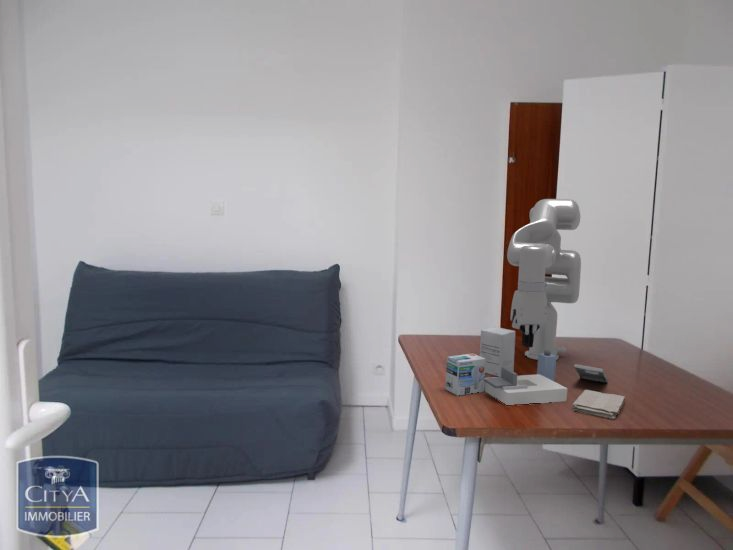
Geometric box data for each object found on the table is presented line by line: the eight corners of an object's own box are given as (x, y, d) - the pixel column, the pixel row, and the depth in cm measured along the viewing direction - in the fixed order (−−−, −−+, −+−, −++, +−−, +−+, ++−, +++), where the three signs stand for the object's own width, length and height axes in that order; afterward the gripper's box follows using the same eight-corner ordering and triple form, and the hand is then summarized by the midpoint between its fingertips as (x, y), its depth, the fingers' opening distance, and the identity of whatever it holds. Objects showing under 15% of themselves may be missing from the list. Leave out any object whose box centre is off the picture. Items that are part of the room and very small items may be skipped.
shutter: (504, 379, 163) (504, 367, 162) (516, 386, 156) (517, 373, 156) (483, 380, 161) (484, 368, 160) (495, 388, 154) (496, 375, 154)
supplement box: (491, 366, 192) (494, 326, 190) (514, 372, 185) (516, 330, 184) (477, 371, 185) (480, 329, 184) (500, 377, 179) (502, 334, 177)
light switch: (608, 377, 177) (603, 366, 165) (605, 394, 175) (600, 384, 163) (581, 372, 181) (575, 361, 170) (578, 389, 179) (571, 378, 168)
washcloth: (570, 413, 149) (571, 402, 149) (583, 395, 164) (583, 385, 164) (616, 422, 143) (617, 412, 143) (625, 403, 158) (626, 393, 158)
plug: (546, 382, 175) (549, 348, 174) (554, 386, 171) (556, 351, 170) (536, 383, 174) (538, 349, 172) (543, 387, 170) (545, 352, 169)
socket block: (539, 386, 171) (540, 371, 170) (566, 401, 157) (567, 385, 157) (483, 390, 165) (484, 375, 165) (507, 406, 152) (508, 390, 151)
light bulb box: (457, 396, 159) (459, 361, 158) (444, 389, 165) (445, 356, 164) (485, 391, 164) (487, 358, 163) (471, 385, 170) (473, 352, 169)
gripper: (545, 284, 163) (541, 341, 166) (502, 285, 159) (499, 344, 162) (560, 288, 156) (556, 348, 158) (515, 289, 152) (512, 351, 154)
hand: (527, 346), depth 160 cm, fingers closed
